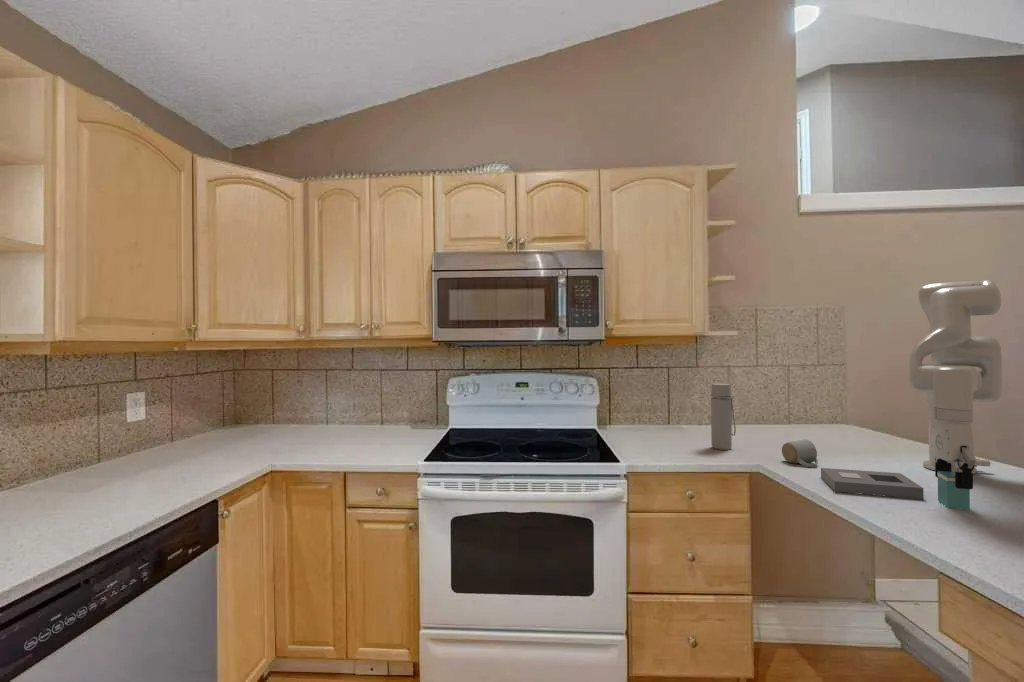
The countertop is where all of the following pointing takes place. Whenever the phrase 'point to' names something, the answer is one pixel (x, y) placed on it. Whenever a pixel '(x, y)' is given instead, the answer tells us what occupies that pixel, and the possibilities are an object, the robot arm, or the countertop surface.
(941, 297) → the robot arm
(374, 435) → the countertop surface
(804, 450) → the ceramic mug
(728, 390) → the water bottle
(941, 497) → the block
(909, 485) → the block
